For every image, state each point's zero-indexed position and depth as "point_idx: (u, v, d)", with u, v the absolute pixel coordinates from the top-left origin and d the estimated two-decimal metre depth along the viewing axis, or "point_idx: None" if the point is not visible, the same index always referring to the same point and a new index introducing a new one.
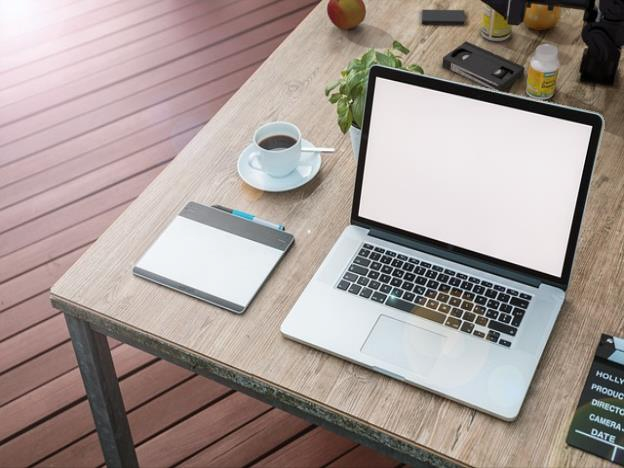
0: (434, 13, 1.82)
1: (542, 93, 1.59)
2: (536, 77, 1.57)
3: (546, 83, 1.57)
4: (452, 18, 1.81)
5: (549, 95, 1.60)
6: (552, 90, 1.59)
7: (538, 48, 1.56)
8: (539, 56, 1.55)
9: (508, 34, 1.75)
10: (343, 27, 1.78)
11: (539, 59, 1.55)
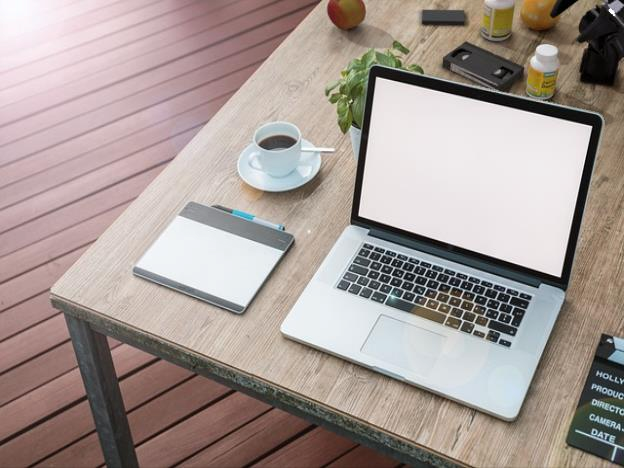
0: (434, 13, 1.82)
1: (542, 93, 1.59)
2: (536, 77, 1.57)
3: (546, 83, 1.57)
4: (452, 18, 1.81)
5: (549, 95, 1.60)
6: (552, 90, 1.59)
7: (538, 48, 1.56)
8: (539, 56, 1.55)
9: (508, 34, 1.75)
10: (343, 27, 1.78)
11: (539, 59, 1.55)
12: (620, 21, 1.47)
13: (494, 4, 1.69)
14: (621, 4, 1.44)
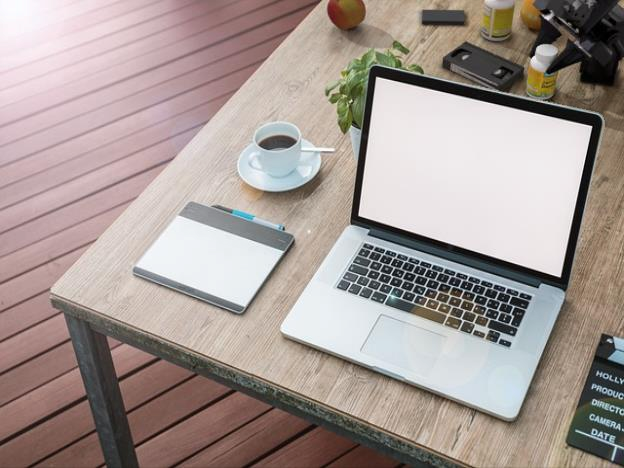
0: (434, 13, 1.82)
1: (542, 93, 1.59)
2: (536, 77, 1.57)
3: (546, 83, 1.57)
4: (452, 18, 1.81)
5: (549, 95, 1.60)
6: (552, 90, 1.59)
7: (538, 48, 1.56)
8: (539, 56, 1.55)
9: (508, 34, 1.75)
10: (343, 27, 1.78)
11: (539, 59, 1.55)
12: (586, 52, 1.51)
13: (494, 4, 1.69)
14: (592, 42, 1.47)
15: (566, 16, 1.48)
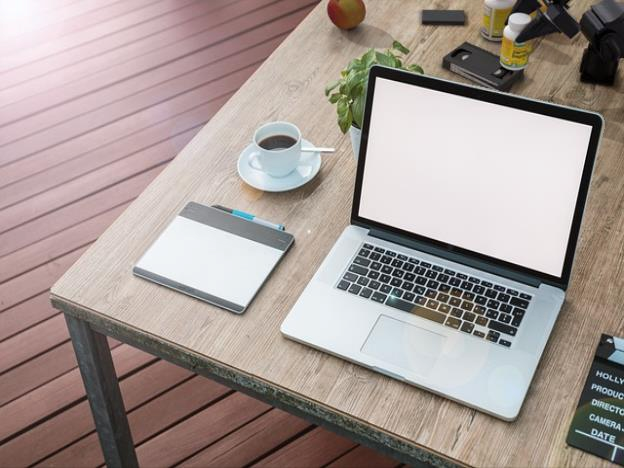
0: (434, 13, 1.82)
1: (513, 63, 1.56)
2: (507, 46, 1.55)
3: (517, 53, 1.55)
4: (452, 18, 1.81)
5: (520, 66, 1.57)
6: (524, 61, 1.57)
7: (512, 16, 1.53)
8: (510, 23, 1.52)
9: None
10: (343, 27, 1.78)
11: (510, 27, 1.53)
12: (555, 24, 1.47)
13: (494, 4, 1.69)
14: (557, 12, 1.43)
15: None
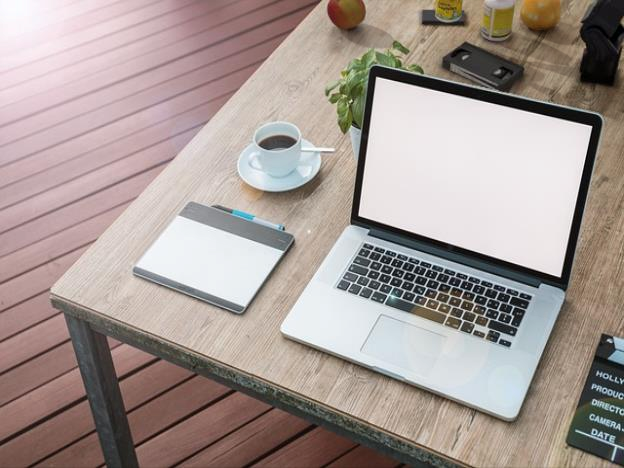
0: (434, 13, 1.82)
1: (438, 13, 1.70)
2: None
3: (441, 4, 1.68)
4: None
5: (445, 19, 1.70)
6: (448, 15, 1.69)
7: None
8: None
9: (508, 34, 1.75)
10: (343, 27, 1.78)
11: None
12: None
13: (494, 4, 1.69)
14: None
15: None
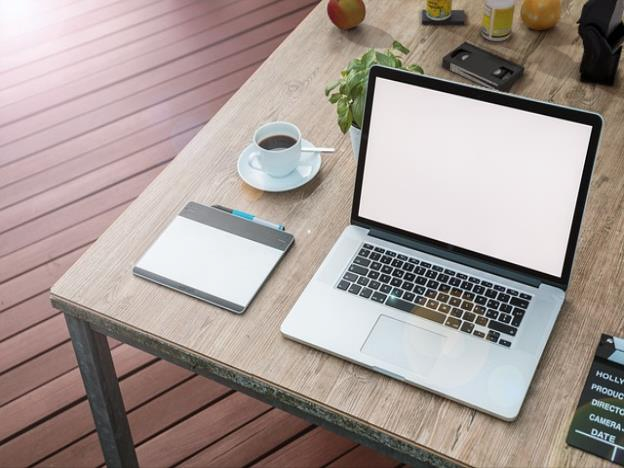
0: None
1: (427, 11, 1.80)
2: None
3: (429, 2, 1.78)
4: (452, 18, 1.81)
5: (433, 17, 1.79)
6: (436, 13, 1.79)
7: None
8: None
9: (508, 34, 1.75)
10: (343, 27, 1.78)
11: None
12: None
13: (494, 4, 1.69)
14: None
15: None
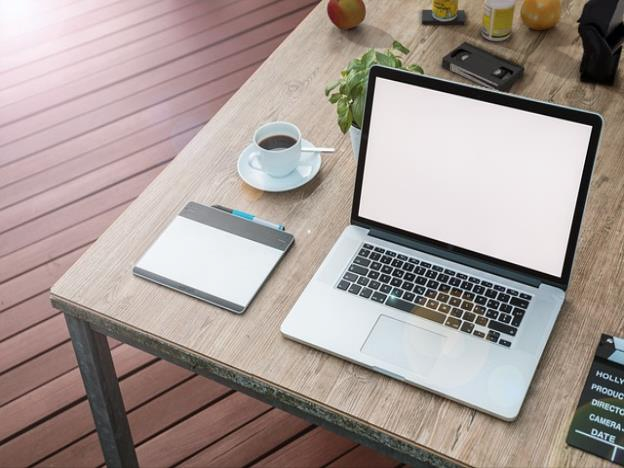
0: None
1: (434, 11, 1.80)
2: None
3: (436, 3, 1.78)
4: None
5: (439, 17, 1.79)
6: (442, 14, 1.78)
7: None
8: None
9: (508, 34, 1.75)
10: (343, 27, 1.78)
11: None
12: None
13: (494, 4, 1.69)
14: None
15: None
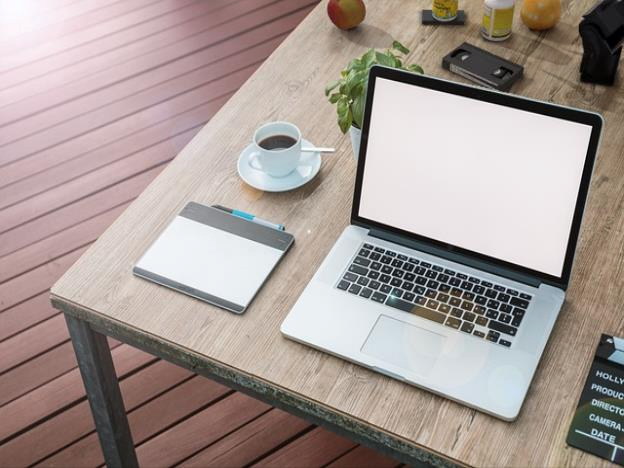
0: None
1: (434, 11, 1.80)
2: None
3: (436, 3, 1.78)
4: None
5: (439, 17, 1.79)
6: (442, 14, 1.78)
7: None
8: None
9: (508, 34, 1.75)
10: (343, 27, 1.78)
11: None
12: None
13: (494, 4, 1.69)
14: None
15: None
